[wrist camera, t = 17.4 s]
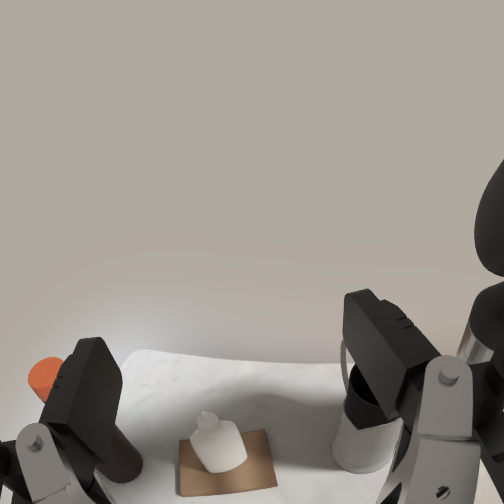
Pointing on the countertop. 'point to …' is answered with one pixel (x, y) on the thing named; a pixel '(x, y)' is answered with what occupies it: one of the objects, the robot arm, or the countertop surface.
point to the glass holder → (363, 427)
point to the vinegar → (122, 451)
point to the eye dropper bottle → (217, 443)
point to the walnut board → (233, 481)
